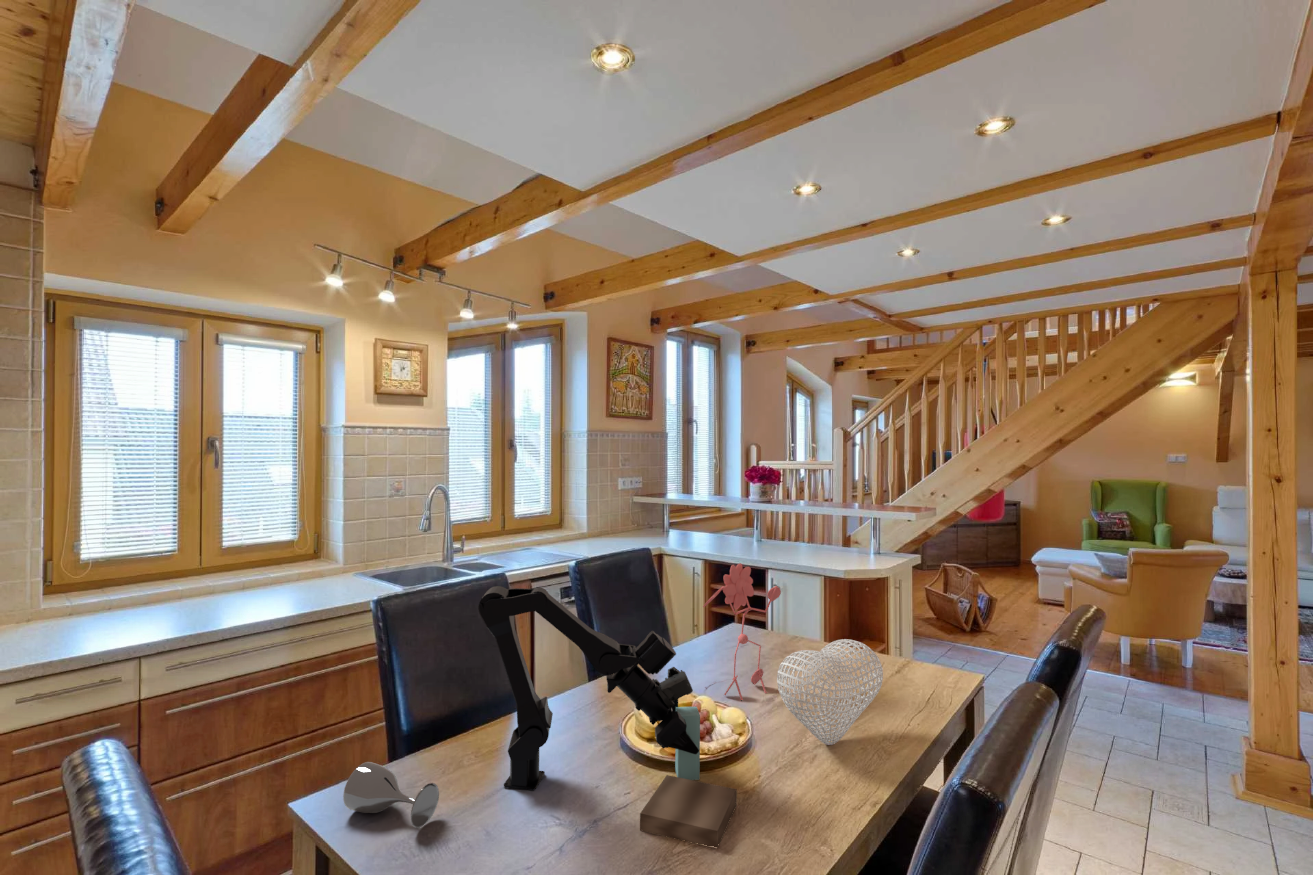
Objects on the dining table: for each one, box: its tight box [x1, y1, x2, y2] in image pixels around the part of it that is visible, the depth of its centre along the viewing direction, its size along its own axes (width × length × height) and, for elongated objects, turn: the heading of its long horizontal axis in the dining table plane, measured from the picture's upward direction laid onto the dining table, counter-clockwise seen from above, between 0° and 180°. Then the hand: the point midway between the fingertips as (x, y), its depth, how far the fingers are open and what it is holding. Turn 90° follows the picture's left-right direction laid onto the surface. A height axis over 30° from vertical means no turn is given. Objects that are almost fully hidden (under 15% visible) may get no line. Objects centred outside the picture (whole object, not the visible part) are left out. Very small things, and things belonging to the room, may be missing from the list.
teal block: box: [674, 706, 701, 781], centre depth 132 cm, size 4×4×13 cm
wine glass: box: [342, 761, 440, 829], centre depth 116 cm, size 8×8×15 cm
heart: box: [776, 638, 884, 746], centre depth 146 cm, size 28×16×22 cm, turn 127°
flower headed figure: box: [702, 562, 782, 701], centre depth 178 cm, size 15×26×35 cm, turn 128°
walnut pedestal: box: [639, 774, 738, 848], centre depth 117 cm, size 14×14×3 cm
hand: (694, 741), depth 132 cm, fingers open, 9 cm apart
